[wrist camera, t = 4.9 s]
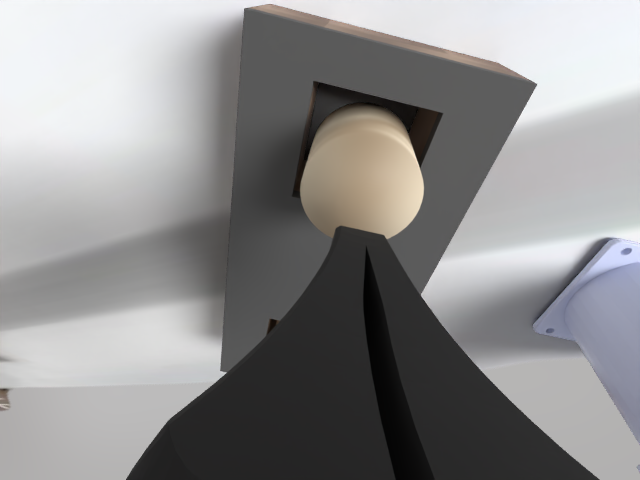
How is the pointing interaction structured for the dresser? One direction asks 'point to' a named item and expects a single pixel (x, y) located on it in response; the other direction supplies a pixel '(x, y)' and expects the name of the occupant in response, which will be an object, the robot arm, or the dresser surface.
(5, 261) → the dresser surface
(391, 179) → the peg
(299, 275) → the block
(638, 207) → the dresser surface
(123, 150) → the dresser surface
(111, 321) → the dresser surface
